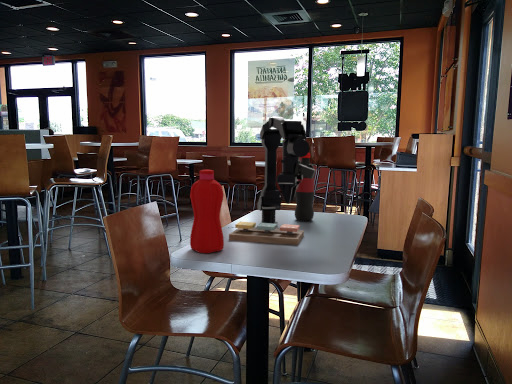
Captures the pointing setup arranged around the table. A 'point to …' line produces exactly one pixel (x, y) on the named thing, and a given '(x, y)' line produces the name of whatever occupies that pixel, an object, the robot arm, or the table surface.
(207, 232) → the red plastic bottle
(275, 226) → the tile teal
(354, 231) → the table surface
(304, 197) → the cola bottle
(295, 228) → the tile brick
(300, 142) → the robot arm
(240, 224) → the tile mustard
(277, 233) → the button board
